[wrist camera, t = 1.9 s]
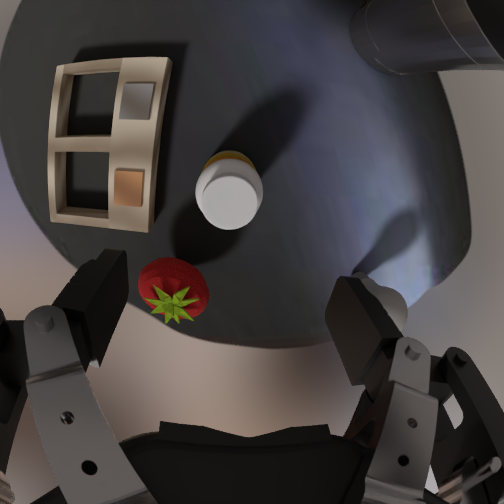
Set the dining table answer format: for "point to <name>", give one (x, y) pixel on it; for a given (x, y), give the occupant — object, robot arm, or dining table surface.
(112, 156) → the socket plate
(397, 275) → the dining table surface
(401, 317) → the lightbulb
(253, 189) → the supplement bottle
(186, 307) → the strawberry
